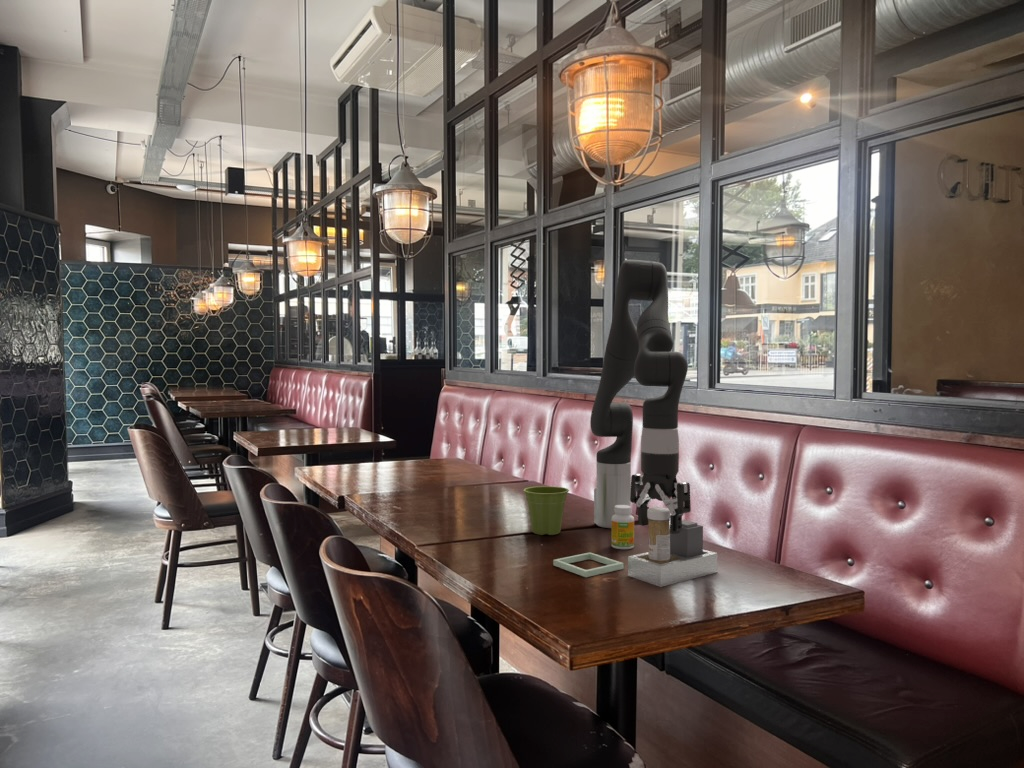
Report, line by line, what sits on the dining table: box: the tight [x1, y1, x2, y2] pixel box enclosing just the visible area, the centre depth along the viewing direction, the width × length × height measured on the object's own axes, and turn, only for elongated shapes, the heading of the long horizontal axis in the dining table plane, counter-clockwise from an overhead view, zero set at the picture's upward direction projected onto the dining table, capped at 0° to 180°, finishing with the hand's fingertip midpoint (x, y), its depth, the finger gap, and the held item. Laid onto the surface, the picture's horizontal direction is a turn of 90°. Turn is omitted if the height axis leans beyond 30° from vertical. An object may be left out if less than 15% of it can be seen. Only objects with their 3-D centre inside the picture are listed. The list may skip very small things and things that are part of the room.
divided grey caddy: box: [627, 549, 718, 588], centre depth 144 cm, size 9×17×4 cm, turn 125°
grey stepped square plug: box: [670, 519, 704, 558], centre depth 147 cm, size 5×5×10 cm
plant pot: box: [523, 485, 570, 536], centre depth 181 cm, size 12×12×11 cm
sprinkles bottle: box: [647, 506, 671, 564], centre depth 142 cm, size 5×5×13 cm
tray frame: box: [552, 552, 624, 578], centre depth 150 cm, size 11×11×1 cm
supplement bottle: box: [610, 505, 635, 550], centre depth 166 cm, size 5×5×10 cm
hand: (659, 529), depth 142 cm, fingers open, 8 cm apart
